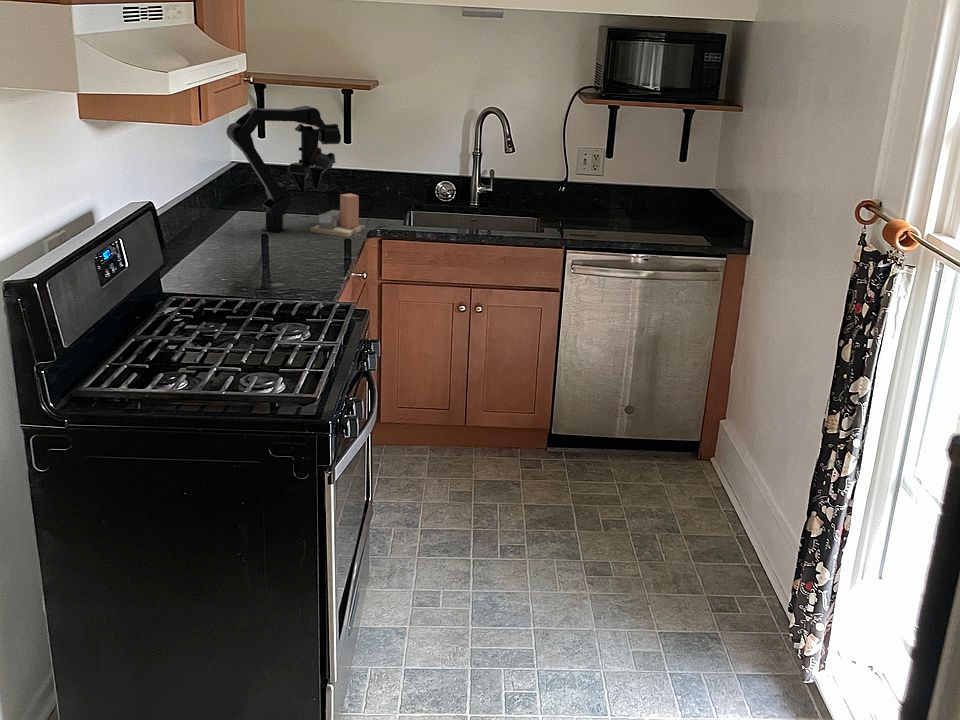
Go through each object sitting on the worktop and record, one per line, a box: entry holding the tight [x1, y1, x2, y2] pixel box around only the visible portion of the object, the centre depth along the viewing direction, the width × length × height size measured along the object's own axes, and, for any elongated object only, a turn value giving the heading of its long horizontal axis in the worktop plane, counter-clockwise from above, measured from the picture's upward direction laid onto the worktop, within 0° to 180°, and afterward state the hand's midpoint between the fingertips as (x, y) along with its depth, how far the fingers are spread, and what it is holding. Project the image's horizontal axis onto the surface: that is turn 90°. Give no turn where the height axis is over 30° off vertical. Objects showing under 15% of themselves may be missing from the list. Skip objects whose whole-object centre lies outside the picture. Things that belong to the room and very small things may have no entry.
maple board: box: [310, 209, 366, 238], centre depth 323 cm, size 14×14×6 cm
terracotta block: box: [339, 193, 360, 228], centre depth 323 cm, size 5×5×11 cm
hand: (309, 190), depth 321 cm, fingers open, 9 cm apart
